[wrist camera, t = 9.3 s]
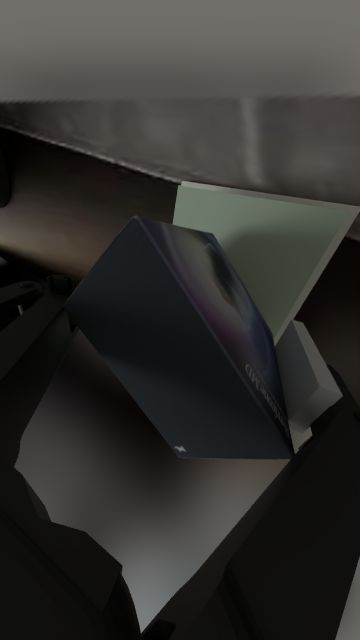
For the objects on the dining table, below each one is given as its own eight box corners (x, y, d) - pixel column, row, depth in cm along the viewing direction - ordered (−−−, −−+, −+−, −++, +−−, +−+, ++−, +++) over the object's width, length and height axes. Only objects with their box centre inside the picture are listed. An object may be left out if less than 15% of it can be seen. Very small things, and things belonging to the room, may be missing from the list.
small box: (279, 334, 15) (310, 472, 6) (216, 356, 18) (177, 462, 9) (214, 227, 13) (131, 201, 5) (160, 273, 17) (55, 308, 8)
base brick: (174, 320, 28) (156, 337, 23) (198, 199, 20) (178, 185, 15) (251, 351, 25) (250, 378, 20) (321, 220, 16) (348, 211, 11)
